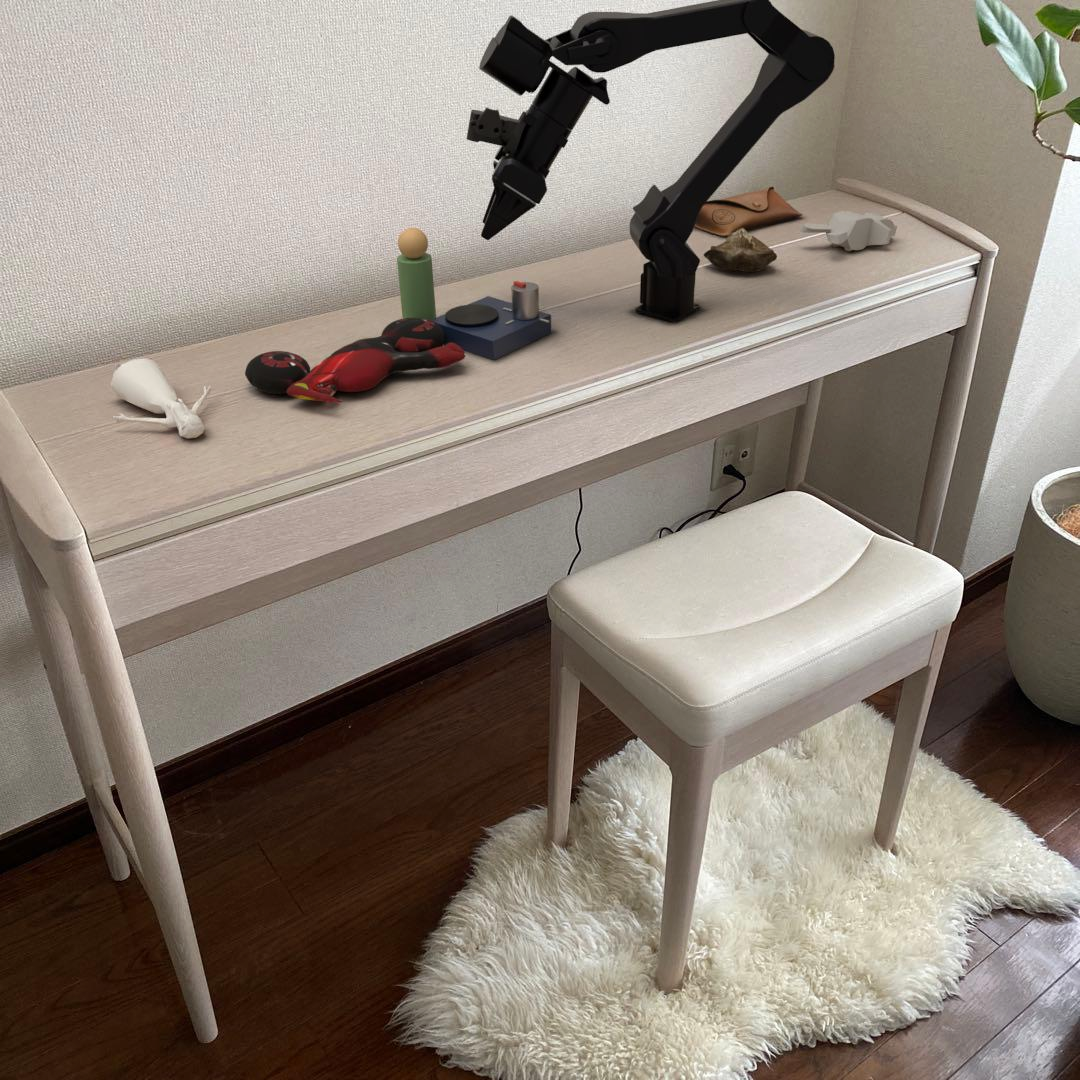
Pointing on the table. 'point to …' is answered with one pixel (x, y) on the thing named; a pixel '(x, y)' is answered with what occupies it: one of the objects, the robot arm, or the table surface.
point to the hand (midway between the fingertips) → (484, 231)
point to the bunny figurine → (855, 230)
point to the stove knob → (525, 300)
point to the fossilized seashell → (741, 253)
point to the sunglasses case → (744, 212)
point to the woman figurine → (155, 397)
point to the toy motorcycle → (355, 362)
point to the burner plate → (471, 316)
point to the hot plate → (496, 331)
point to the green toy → (415, 275)
